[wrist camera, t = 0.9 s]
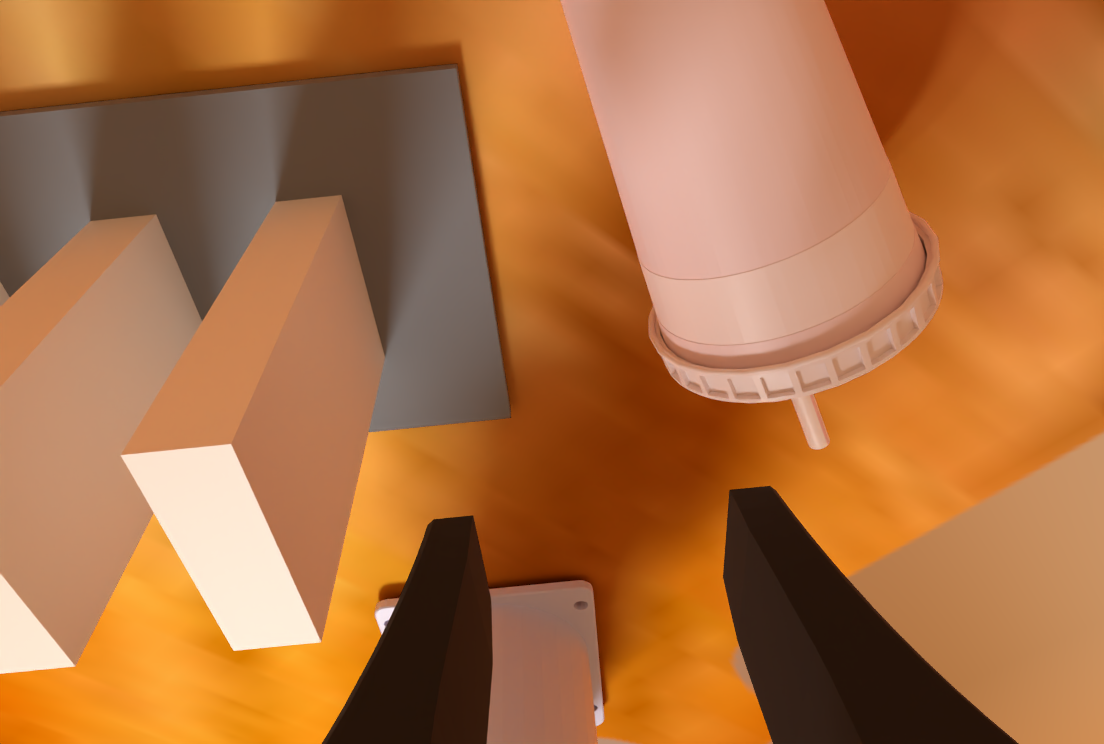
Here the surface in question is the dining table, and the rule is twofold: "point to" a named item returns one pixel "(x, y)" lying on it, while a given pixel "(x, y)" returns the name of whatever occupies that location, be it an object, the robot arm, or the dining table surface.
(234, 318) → the domino
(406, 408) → the runner mat
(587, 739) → the robot arm
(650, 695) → the dining table surface
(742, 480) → the dining table surface
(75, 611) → the domino
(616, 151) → the smoothie
